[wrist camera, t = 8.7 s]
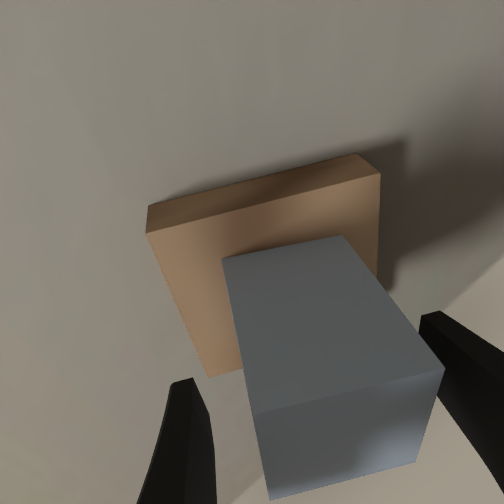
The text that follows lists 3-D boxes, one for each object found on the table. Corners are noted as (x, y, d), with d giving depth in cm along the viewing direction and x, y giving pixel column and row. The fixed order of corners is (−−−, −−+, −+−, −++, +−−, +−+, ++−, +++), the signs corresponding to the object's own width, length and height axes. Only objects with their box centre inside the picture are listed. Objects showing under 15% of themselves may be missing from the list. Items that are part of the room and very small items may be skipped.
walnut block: (349, 148, 14) (380, 172, 12) (352, 295, 19) (375, 330, 17) (149, 199, 14) (145, 233, 12) (203, 336, 18) (207, 377, 16)
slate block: (342, 234, 13) (445, 368, 8) (338, 321, 16) (415, 462, 11) (220, 258, 13) (252, 414, 8) (237, 343, 15) (269, 500, 10)
